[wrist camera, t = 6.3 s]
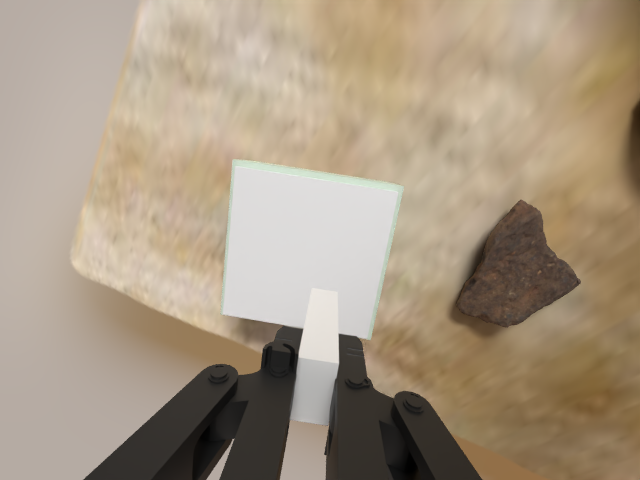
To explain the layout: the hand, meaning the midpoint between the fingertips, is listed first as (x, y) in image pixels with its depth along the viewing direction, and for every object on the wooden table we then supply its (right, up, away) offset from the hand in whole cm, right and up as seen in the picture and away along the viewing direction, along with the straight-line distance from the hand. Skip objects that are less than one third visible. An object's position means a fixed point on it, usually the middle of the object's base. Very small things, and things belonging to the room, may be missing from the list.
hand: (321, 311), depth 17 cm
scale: (-1, +4, +15) cm, 16 cm away
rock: (+16, +5, +14) cm, 22 cm away
